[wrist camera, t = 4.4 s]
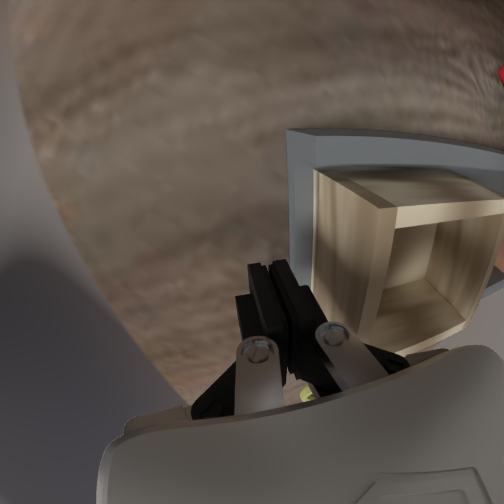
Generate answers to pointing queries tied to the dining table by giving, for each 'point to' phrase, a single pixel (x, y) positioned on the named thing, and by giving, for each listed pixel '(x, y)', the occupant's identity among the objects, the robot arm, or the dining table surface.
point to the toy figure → (502, 74)
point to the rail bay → (376, 155)
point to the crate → (402, 251)
